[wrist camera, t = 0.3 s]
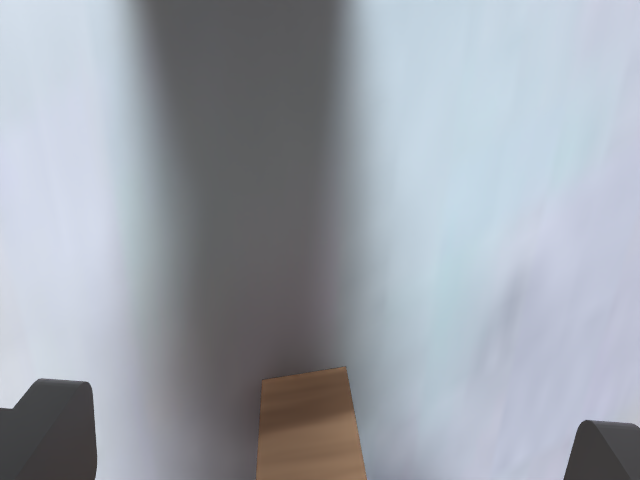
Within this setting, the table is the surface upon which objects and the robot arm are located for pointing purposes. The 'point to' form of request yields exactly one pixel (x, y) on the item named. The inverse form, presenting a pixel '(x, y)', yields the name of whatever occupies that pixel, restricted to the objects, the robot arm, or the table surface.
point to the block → (309, 428)
